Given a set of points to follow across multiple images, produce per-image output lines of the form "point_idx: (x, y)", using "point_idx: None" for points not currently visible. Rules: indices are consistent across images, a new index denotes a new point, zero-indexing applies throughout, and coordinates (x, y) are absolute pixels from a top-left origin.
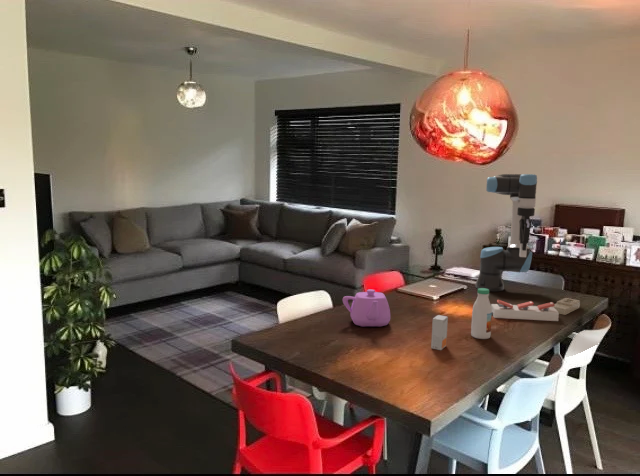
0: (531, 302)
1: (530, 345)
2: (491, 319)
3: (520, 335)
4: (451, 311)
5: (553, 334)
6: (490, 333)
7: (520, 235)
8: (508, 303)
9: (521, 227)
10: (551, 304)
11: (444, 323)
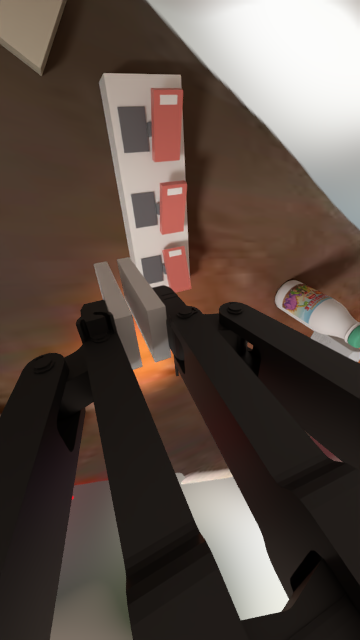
0: (179, 189)
1: (329, 211)
2: (319, 292)
3: (284, 226)
4: (159, 361)
5: (281, 143)
6: (300, 282)
7: (76, 457)
8: (169, 260)
9: (285, 582)
10: (180, 103)
11: (355, 348)
